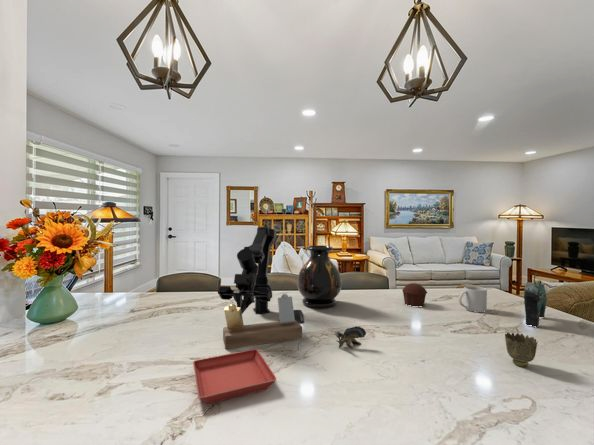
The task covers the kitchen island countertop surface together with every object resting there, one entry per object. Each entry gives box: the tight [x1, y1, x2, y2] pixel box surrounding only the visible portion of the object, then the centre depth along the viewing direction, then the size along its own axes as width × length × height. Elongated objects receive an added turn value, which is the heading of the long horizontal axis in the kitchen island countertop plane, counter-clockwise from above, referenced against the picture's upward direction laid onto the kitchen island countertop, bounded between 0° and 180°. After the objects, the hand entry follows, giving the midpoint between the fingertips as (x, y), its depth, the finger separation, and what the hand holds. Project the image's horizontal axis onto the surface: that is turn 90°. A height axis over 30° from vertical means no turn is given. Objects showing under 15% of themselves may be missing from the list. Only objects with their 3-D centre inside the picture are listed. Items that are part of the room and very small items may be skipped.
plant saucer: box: [192, 348, 277, 405], centre depth 75 cm, size 18×18×3 cm
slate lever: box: [277, 293, 295, 323], centre depth 106 cm, size 2×5×10 cm, turn 109°
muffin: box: [402, 282, 428, 307], centre depth 143 cm, size 12×11×10 cm
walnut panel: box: [222, 320, 303, 350], centre depth 101 cm, size 8×26×4 cm, turn 109°
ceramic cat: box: [523, 273, 548, 328], centre depth 120 cm, size 20×6×20 cm, turn 131°
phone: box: [293, 309, 305, 324], centre depth 124 cm, size 8×1×15 cm
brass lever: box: [223, 303, 245, 331], centre depth 96 cm, size 2×5×10 cm, turn 82°
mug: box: [458, 285, 488, 313], centre depth 135 cm, size 11×10×10 cm
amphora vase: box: [296, 245, 343, 309], centre depth 143 cm, size 22×22×28 cm
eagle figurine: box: [333, 326, 367, 350], centre depth 96 cm, size 8×7×9 cm
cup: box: [504, 332, 539, 368], centre depth 84 cm, size 8×7×8 cm
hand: (239, 315), depth 101 cm, fingers closed
